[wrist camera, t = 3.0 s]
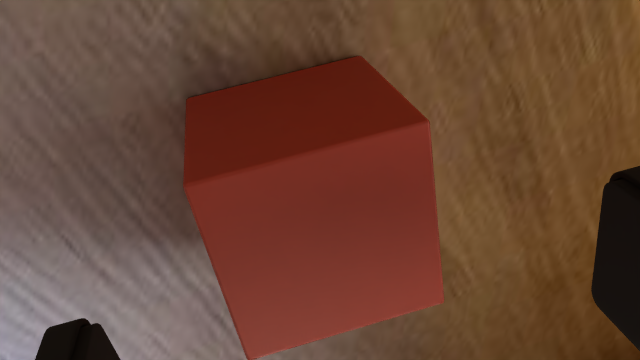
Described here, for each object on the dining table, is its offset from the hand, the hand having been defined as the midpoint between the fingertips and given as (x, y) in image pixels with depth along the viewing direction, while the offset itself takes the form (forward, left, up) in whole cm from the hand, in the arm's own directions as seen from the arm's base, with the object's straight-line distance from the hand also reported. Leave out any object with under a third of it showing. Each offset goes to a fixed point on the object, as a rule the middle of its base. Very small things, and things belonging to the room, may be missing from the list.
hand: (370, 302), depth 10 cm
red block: (0, 0, -7) cm, 7 cm away
